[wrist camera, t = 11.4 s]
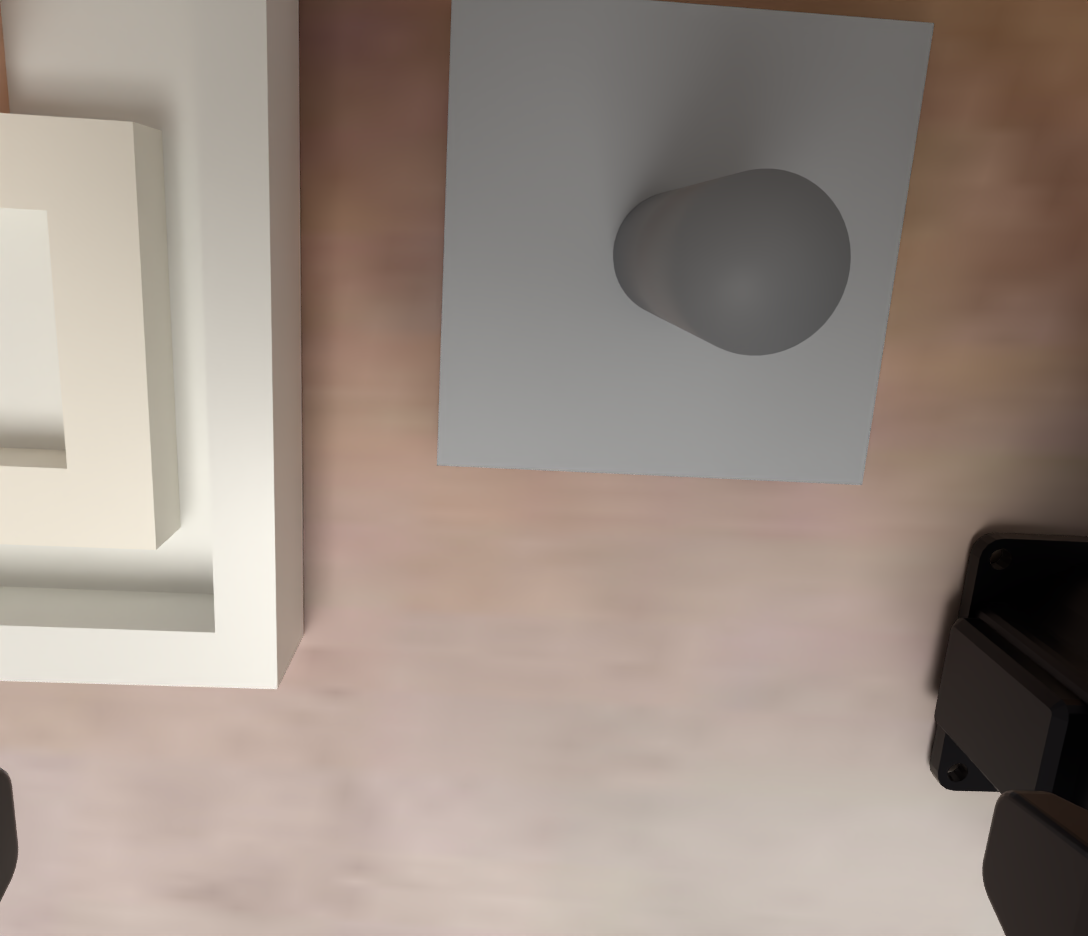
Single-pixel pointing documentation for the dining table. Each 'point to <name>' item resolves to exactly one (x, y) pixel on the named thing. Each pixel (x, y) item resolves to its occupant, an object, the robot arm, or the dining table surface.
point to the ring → (97, 334)
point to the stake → (671, 235)
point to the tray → (197, 345)
